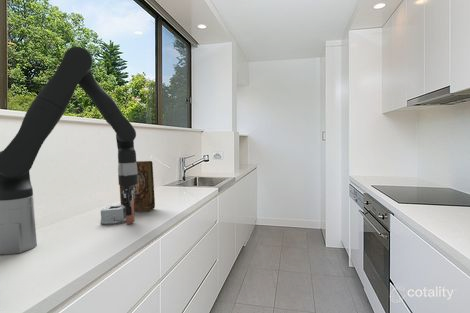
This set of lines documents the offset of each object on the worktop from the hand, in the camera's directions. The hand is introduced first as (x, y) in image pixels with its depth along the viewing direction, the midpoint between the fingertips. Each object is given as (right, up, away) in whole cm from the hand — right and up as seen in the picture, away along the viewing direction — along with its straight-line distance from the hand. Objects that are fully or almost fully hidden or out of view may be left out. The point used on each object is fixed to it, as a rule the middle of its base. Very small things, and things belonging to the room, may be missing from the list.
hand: (129, 213), depth 109 cm
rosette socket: (-9, -4, +6) cm, 12 cm away
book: (-5, -4, +23) cm, 24 cm away
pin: (0, -4, 0) cm, 4 cm away
